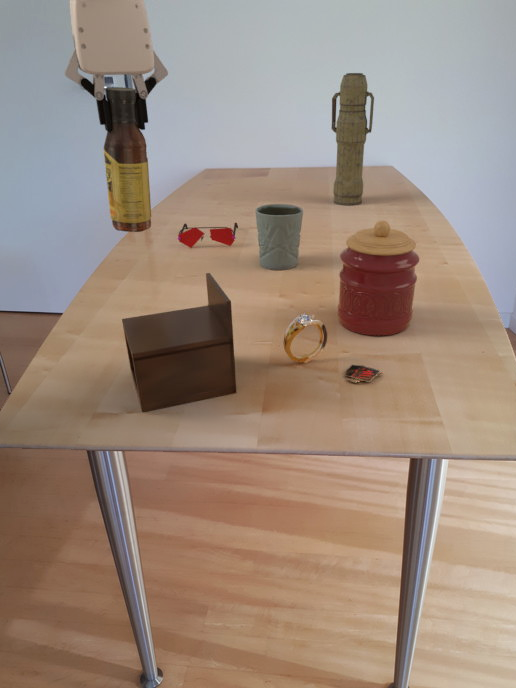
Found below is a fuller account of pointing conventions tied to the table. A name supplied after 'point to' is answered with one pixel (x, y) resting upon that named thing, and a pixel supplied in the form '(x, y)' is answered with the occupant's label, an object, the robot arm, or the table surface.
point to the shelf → (183, 352)
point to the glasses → (195, 234)
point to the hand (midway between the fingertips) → (124, 128)
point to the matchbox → (361, 373)
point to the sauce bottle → (126, 164)
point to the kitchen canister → (377, 281)
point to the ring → (303, 321)
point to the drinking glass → (279, 235)
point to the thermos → (351, 137)
